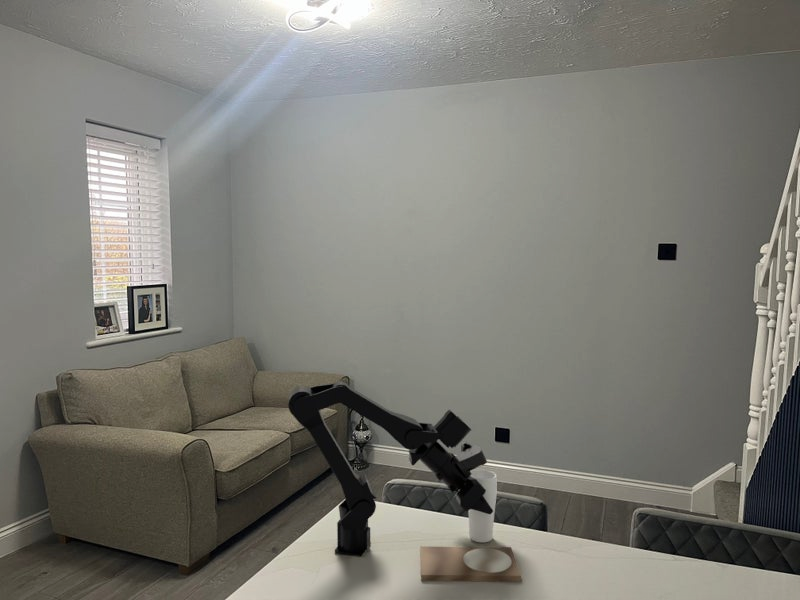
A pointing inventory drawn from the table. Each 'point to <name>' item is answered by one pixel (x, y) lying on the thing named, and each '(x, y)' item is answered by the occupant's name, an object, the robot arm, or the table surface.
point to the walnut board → (468, 564)
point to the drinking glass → (478, 520)
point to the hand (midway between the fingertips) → (487, 506)
